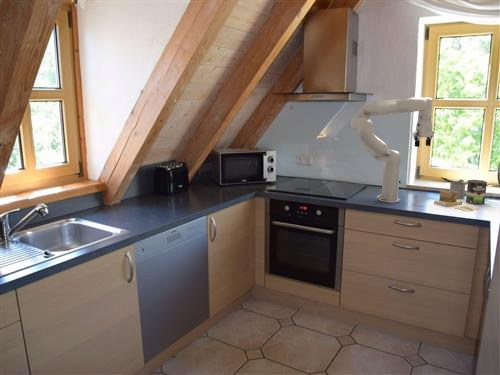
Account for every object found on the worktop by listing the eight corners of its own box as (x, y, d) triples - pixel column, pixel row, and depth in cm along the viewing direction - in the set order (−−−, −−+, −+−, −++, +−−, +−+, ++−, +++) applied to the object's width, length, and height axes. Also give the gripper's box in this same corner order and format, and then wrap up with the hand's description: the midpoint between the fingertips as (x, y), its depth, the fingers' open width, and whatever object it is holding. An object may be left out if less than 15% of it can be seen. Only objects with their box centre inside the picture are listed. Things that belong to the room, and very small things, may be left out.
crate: (449, 202, 249) (450, 192, 248) (439, 200, 255) (440, 190, 254) (456, 201, 252) (457, 191, 251) (446, 199, 258) (447, 189, 257)
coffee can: (487, 206, 251) (489, 183, 248) (468, 206, 253) (470, 182, 250) (481, 202, 261) (483, 179, 258) (462, 202, 263) (465, 179, 260)
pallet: (467, 213, 237) (467, 211, 237) (453, 210, 245) (453, 208, 244) (480, 211, 242) (480, 209, 242) (465, 207, 250) (466, 205, 249)
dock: (446, 208, 247) (447, 203, 247) (433, 205, 255) (434, 200, 254) (461, 206, 253) (462, 201, 252) (448, 202, 261) (449, 198, 260)
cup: (462, 198, 272) (464, 182, 270) (464, 201, 265) (466, 185, 263) (448, 197, 275) (449, 182, 273) (449, 200, 268) (451, 184, 265)
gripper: (419, 119, 255) (417, 147, 259) (439, 118, 263) (437, 146, 266) (409, 118, 261) (407, 146, 265) (429, 117, 269) (427, 144, 273)
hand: (422, 146), depth 266 cm, fingers open, 9 cm apart
